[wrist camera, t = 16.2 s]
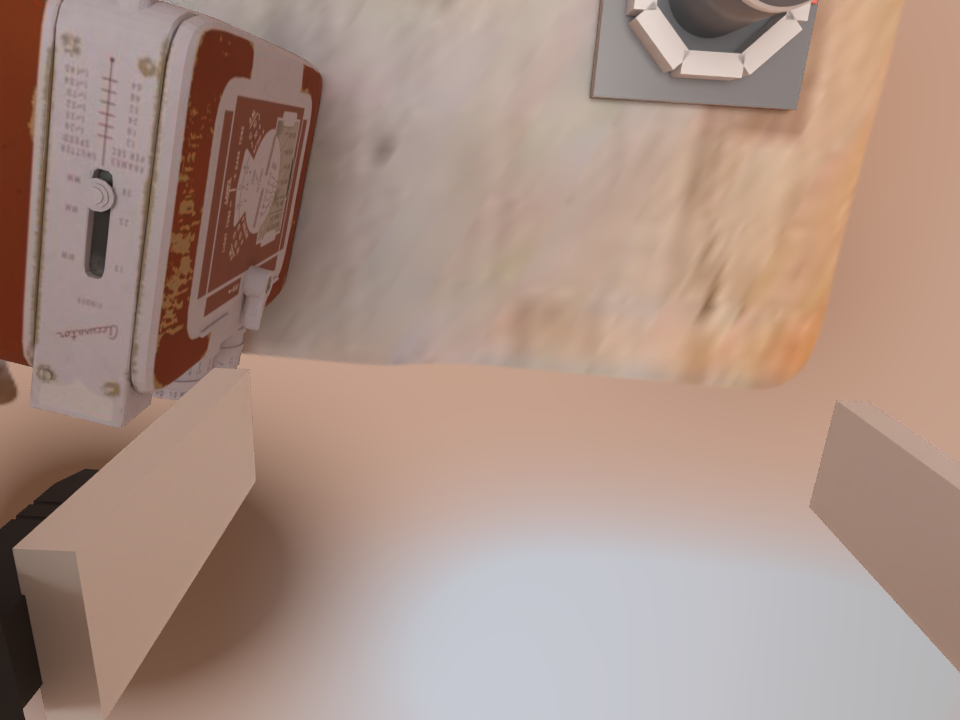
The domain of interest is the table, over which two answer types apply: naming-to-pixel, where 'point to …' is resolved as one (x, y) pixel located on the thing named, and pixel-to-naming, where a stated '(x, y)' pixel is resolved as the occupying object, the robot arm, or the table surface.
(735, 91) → the mount plate
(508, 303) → the table surface
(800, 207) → the table surface
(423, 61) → the table surface
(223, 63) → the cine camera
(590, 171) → the table surface
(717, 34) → the lens
